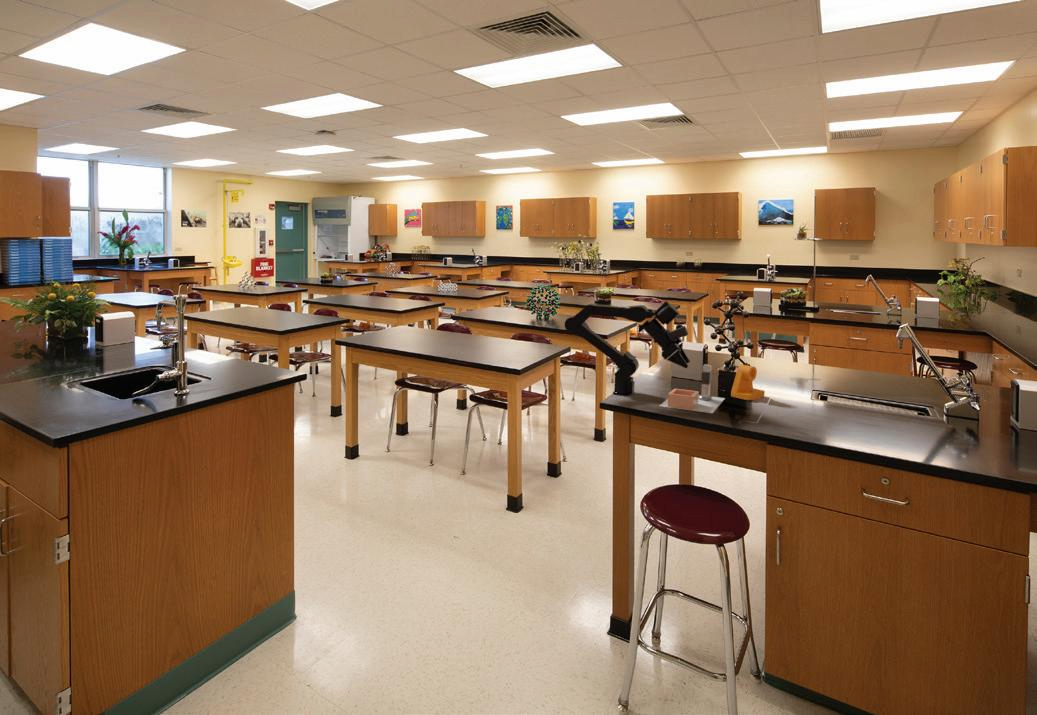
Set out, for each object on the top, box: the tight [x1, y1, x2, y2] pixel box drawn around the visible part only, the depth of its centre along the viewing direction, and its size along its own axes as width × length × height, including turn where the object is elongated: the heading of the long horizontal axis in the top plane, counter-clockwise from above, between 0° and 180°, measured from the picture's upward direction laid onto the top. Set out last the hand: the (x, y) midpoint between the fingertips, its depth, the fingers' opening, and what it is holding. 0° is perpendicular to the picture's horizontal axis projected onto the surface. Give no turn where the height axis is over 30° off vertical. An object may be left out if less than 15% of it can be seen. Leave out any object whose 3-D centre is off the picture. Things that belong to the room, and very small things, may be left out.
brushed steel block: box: [699, 363, 713, 401], centre depth 212 cm, size 4×4×12 cm
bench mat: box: [658, 394, 726, 414], centre depth 209 cm, size 18×22×1 cm
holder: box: [667, 388, 700, 411], centre depth 205 cm, size 8×8×4 cm
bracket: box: [730, 364, 766, 401], centre depth 215 cm, size 11×7×12 cm, turn 127°
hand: (688, 364), depth 213 cm, fingers open, 9 cm apart
